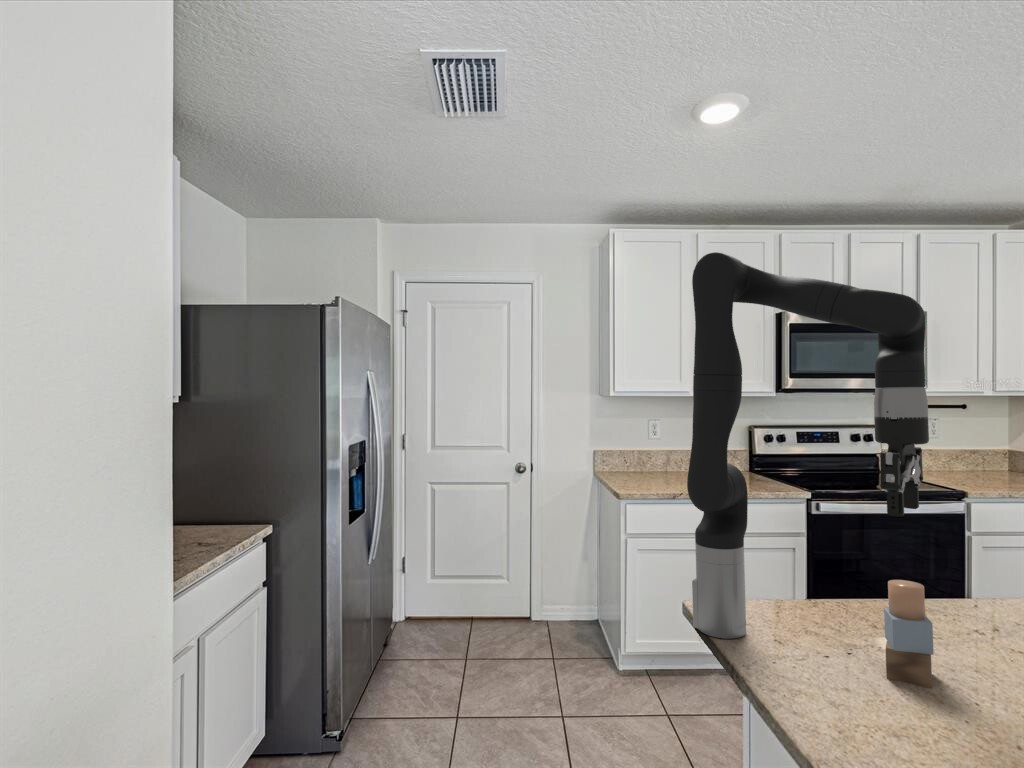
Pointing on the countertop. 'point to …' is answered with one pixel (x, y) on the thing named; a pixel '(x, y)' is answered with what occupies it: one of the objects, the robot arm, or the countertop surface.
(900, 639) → the tower top
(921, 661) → the tower base
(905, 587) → the tan rounded cylinder
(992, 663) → the countertop surface
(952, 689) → the countertop surface
